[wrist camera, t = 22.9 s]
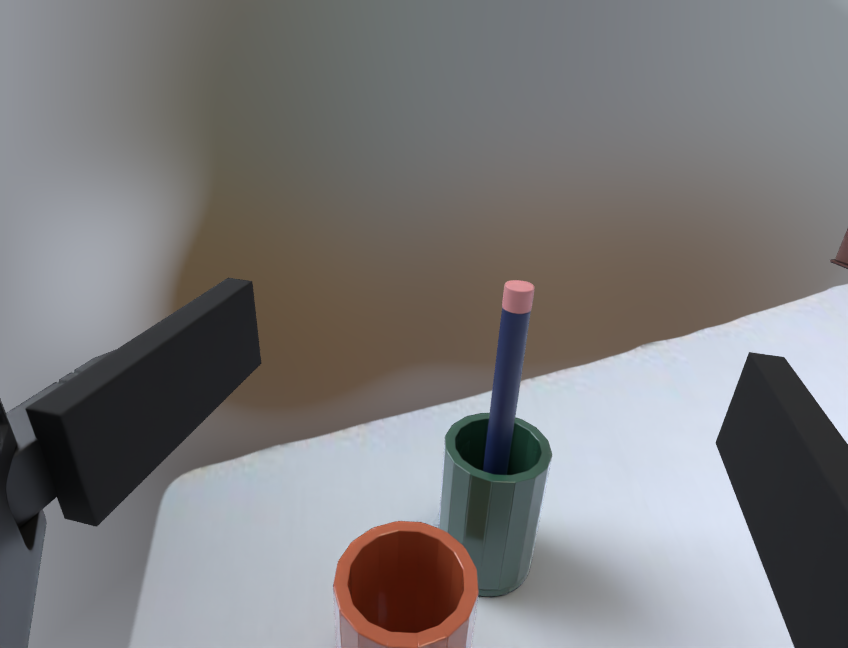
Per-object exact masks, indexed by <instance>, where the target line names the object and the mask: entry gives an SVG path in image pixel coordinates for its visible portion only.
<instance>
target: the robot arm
mask: <svg viewBox="0 0 848 648" xmlns="http://www.w3.org/2000/svg"><path fill="white" fill-rule="evenodd" d="M260 364H261V357H260V348H259V339H258V330H257V321H256V311H255V302H254V293H253V284H252V281H247V280H240V279H233V278H227V279H225V280H224V281H222V282H221V283H219V284H218V285H217V286H215V287H213V288H211V289H210V290H208V291H207V292H205V293H204V294H202V295H201V296H199V297H197V298H196V299H194V300H193V301H191V302H190V303H188V304H187V305H185V306H184V307H182V308H181V309H179V310H177V311H176V312H174V313H173V314H171V315H169V316H168V317H167V318H165V319H163V320H162V321H161V322H159V323H157V324H156V325H154V326H152V327H151V328H149V329H148V330H146V331H145V332H143V333H142V334H140V335H138V336H137V337H135V338H134V339H132V340H131V341H129V342H127V343H126V344H124V345H123V346H121V347H120V348H118V349H117V350H114V351H111V352H108V353H106V354H103V355H101V356H98V357H95V358H93V359H91V360H90V361H88V362H87V363H85V364H83V365H82V366H80V367H79V368H77V369H75V371H74V373H69V374H67V375H66V376H64V377H63V378H61V379H60V380H59V382H58V383H57V382H55V383H53V384H52V385H50V386H48V387H47V388H45V389H44V390H42V391H40V392H39V393H38V394H36V395H34V396H32V397H31V398H29V399H28V400H26V401H25V402H23V403H21V404H20V405H18V406H17V407H15V408H14V409H12V410H10V411H9V412H7V413H6V412H5V410H4V407H3V404H2V402H1V399H0V648H28V641H29V634H30V628H31V621H32V615H33V608H34V601H35V595H36V588H37V582H38V575H39V569H40V561H41V556H42V548H43V542H44V536H45V529H46V518H45V514H44V512H43V508H44V507H45V506H47V505H48V504H49V503H50V502H51V501H52V500H54V499H55V498H56V497H57V498H58V501H59V504H60V507H61V509H62V512H63V515H64V518H65V519H69V520H73V521H77V522H81V523H84V524H88V525H93V526H98V525H99V524H100V523H101V522H102V521H103V520H104V519H105V518H106V517H107V516H108V515H109V514H110V513H111V512H112V511H113V510H114V509H115V508H116V507H117V506H118V505H119V504H120V503H121V502H122V501H123V500H124V499H125V498H126V497H127V496H128V495H129V494H130V493H131V492H132V491H133V490H134V489H135V488H136V487H137V486H138V485H139V484H140V483H141V482H142V481H143V480H144V479H145V478H146V477H147V476H148V475H149V474H150V473H151V472H152V471H153V470H154V469H155V468H156V467H157V466H158V465H159V464H160V463H161V462H162V461H163V460H164V459H165V458H166V457H167V456H168V455H169V454H170V453H171V452H172V451H173V450H175V448H177V446H179V444H180V443H182V442H183V441H184V440H185V439H186V437H188V436H189V435H190V434H191V433H192V432H193V431H194V430H195V429H196V428H197V427H198V426H199V425H200V424H201V423H202V422H203V421H204V420H205V419H206V418H207V417H208V416H209V415H210V414H211V413H212V412H213V411H214V410H215V409H216V408H217V407H218V406H219V405H220V404H221V403H222V402H223V401H224V400H225V399H226V398H227V397H228V396H229V395H230V394H231V393H232V392H233V391H234V390H235V389H236V388H237V387H238V386H239V385H240V384H241V383H242V382H243V381H244V380H245V379H246V378H247V377H248V376H249V375H250V374H251V373H252V372H253V371H254V370H255V369H256V368H257V367H258V366H259V365H260ZM716 445H717V448H718V450H719V453H720V455H721V458H722V461H723V463H724V466H725V468H726V471H727V474H728V476H729V479H730V481H731V484H732V487H733V489H734V492H735V494H736V497H737V500H738V502H739V505H740V507H741V510H742V512H743V515H744V518H745V520H746V523H747V525H748V528H749V531H750V533H751V536H752V538H753V541H754V544H755V546H756V549H757V551H758V554H759V557H760V559H761V562H762V564H763V567H764V569H765V572H766V575H767V577H768V580H769V582H770V585H771V588H772V590H773V593H774V595H775V598H776V601H777V603H778V606H779V608H780V611H781V614H782V616H783V619H784V621H785V624H786V627H787V629H788V632H789V634H790V637H791V639H792V642H793V645H794V647H795V648H848V444H847V443H846V441H845V440H844V439H843V437H842V436H841V435H840V433H839V432H838V430H837V429H836V428H835V426H834V425H833V424H832V422H831V421H830V419H829V418H828V417H827V415H826V414H825V413H824V411H823V410H822V408H821V407H820V406H819V404H818V403H817V402H816V400H815V399H814V397H813V396H812V395H811V393H810V392H809V391H808V389H807V388H806V386H805V385H804V384H803V382H802V381H801V380H800V378H799V377H798V375H797V374H796V373H795V371H794V370H793V369H792V367H791V366H790V364H789V363H788V362H787V360H786V359H785V358H784V357H779V356H772V355H765V354H758V353H751V352H749V354H748V357H747V360H746V362H745V365H744V368H743V370H742V373H741V376H740V378H739V381H738V384H737V386H736V389H735V392H734V395H733V397H732V400H731V403H730V405H729V408H728V411H727V413H726V416H725V419H724V422H723V424H722V427H721V430H720V432H719V435H718V438H717V440H716Z"/></svg>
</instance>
